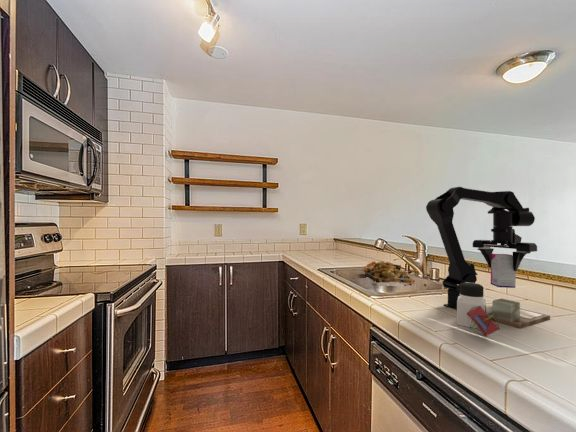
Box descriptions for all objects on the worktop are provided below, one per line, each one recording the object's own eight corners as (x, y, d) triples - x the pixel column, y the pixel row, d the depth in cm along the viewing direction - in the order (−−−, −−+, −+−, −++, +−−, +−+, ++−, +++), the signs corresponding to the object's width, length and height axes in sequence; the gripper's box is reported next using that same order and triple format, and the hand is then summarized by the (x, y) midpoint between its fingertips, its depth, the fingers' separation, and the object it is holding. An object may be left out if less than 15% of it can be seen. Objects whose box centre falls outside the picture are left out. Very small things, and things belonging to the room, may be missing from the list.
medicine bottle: (486, 330, 84) (486, 287, 84) (456, 325, 87) (456, 284, 87) (485, 322, 90) (485, 282, 90) (458, 318, 93) (458, 280, 94)
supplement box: (516, 288, 105) (516, 255, 105) (497, 287, 106) (497, 255, 106) (507, 284, 110) (507, 253, 110) (489, 283, 112) (489, 253, 112)
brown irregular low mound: (354, 274, 172) (354, 255, 172) (399, 274, 172) (399, 255, 172) (372, 288, 137) (372, 265, 137) (428, 288, 137) (428, 265, 137)
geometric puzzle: (504, 334, 79) (498, 303, 80) (498, 341, 74) (492, 308, 75) (473, 331, 84) (468, 302, 85) (466, 338, 79) (461, 307, 80)
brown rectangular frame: (519, 328, 85) (519, 307, 85) (483, 317, 94) (483, 298, 94) (550, 318, 93) (550, 299, 93) (514, 309, 102) (513, 292, 102)
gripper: (545, 226, 104) (545, 271, 104) (488, 225, 120) (488, 264, 120) (528, 227, 99) (528, 274, 98) (471, 225, 115) (471, 266, 115)
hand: (502, 269), depth 108 cm, fingers closed on supplement box, 8 cm apart
